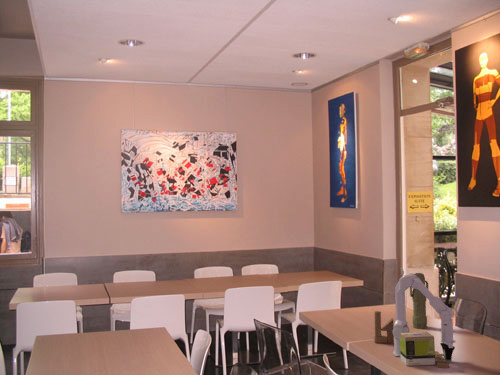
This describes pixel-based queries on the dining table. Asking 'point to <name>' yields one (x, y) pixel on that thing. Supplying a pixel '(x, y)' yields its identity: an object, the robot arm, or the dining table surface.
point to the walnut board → (440, 361)
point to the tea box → (417, 348)
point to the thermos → (419, 305)
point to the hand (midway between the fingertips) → (447, 358)
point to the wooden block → (386, 327)
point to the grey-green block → (444, 357)
